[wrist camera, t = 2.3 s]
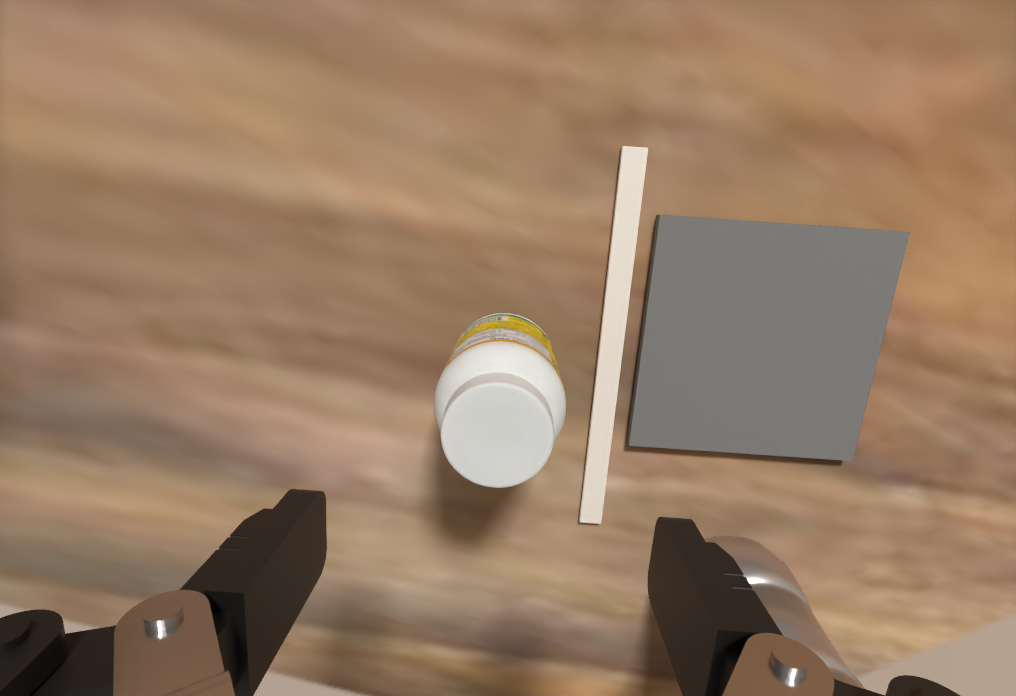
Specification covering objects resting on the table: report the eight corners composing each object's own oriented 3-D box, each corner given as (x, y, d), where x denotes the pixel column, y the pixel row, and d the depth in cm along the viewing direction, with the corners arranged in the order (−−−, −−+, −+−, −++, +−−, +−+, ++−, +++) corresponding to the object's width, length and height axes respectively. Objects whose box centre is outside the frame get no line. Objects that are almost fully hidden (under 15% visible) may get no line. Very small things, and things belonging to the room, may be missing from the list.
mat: (656, 214, 25) (660, 214, 25) (900, 231, 25) (909, 232, 25) (626, 441, 28) (628, 445, 27) (845, 455, 28) (852, 461, 27)
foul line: (621, 146, 24) (622, 146, 24) (646, 148, 24) (648, 147, 24) (579, 519, 29) (579, 522, 29) (600, 520, 29) (601, 523, 29)
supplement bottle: (480, 293, 26) (460, 334, 17) (572, 339, 27) (603, 402, 17) (436, 383, 27) (396, 467, 18) (526, 425, 28) (531, 528, 19)
